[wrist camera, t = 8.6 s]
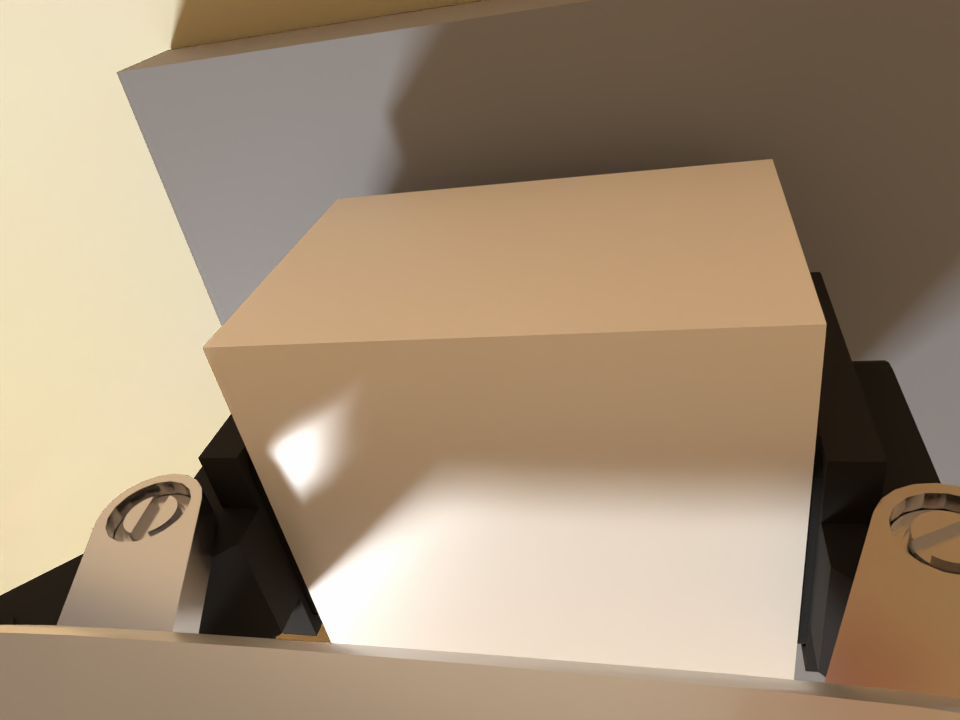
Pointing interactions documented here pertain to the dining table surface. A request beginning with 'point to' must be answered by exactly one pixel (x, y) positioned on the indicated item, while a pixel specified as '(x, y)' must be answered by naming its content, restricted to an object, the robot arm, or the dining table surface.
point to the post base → (598, 139)
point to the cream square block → (544, 417)
